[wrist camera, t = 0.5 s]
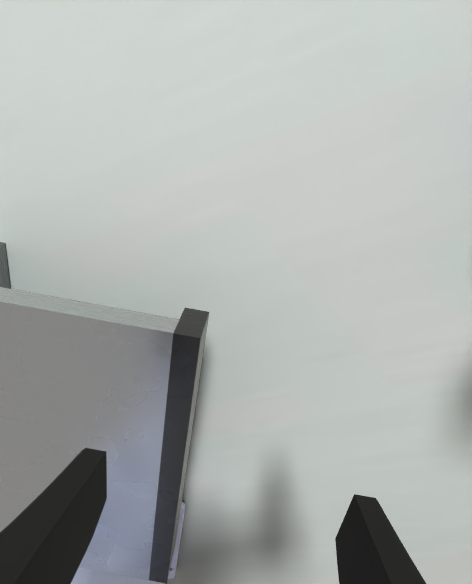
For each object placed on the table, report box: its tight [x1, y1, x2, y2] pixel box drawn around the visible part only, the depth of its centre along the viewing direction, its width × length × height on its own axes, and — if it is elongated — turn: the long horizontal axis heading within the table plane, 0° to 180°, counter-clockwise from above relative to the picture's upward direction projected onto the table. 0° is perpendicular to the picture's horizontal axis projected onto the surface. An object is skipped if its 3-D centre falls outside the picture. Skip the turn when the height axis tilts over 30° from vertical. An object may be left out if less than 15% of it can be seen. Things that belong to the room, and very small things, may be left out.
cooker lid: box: [0, 287, 209, 584], centre depth 17 cm, size 16×17×3 cm
